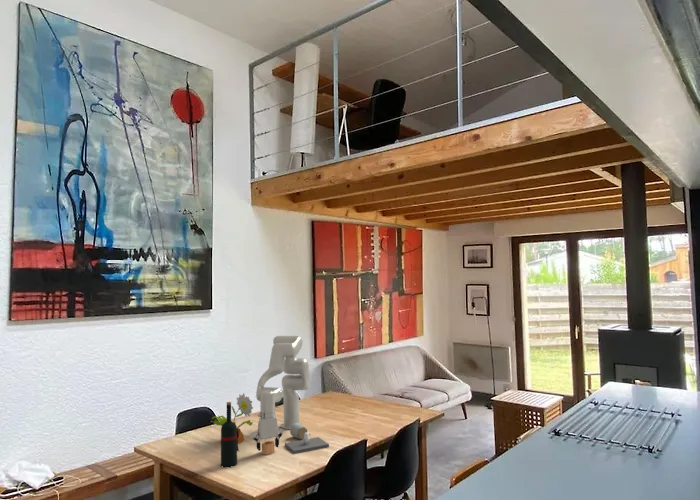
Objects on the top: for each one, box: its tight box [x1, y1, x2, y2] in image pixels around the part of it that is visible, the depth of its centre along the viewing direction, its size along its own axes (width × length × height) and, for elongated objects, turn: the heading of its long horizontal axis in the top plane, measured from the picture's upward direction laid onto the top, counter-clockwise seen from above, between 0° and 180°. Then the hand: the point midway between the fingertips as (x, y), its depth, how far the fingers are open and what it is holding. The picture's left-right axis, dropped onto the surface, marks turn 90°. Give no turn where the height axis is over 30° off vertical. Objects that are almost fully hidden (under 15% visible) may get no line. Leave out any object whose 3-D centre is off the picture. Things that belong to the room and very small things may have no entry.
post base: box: [284, 431, 330, 455], centre depth 260 cm, size 14×20×7 cm
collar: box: [261, 440, 275, 456], centre depth 252 cm, size 6×6×5 cm
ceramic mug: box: [289, 423, 311, 440], centre depth 276 cm, size 11×8×8 cm
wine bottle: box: [220, 401, 240, 468], centre depth 238 cm, size 8×10×30 cm
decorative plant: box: [210, 392, 254, 444], centre depth 272 cm, size 27×24×25 cm
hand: (267, 448), depth 252 cm, fingers open, 9 cm apart
